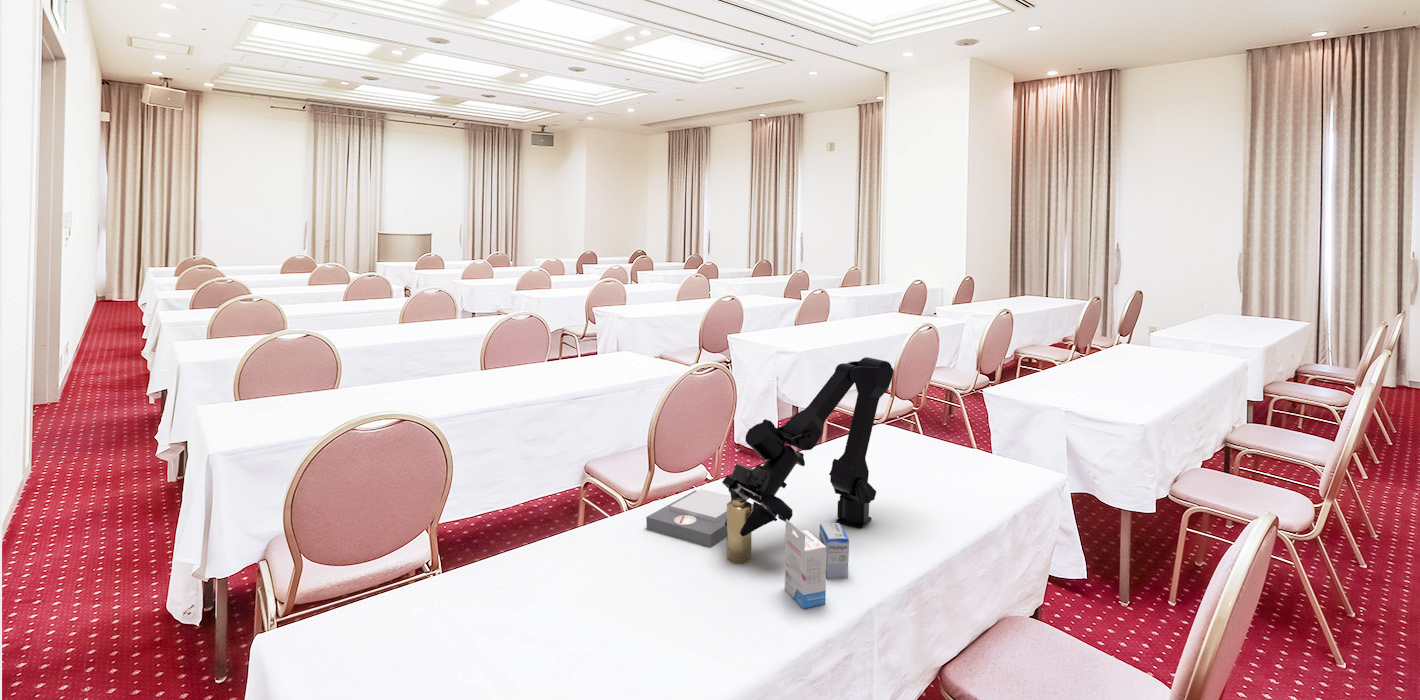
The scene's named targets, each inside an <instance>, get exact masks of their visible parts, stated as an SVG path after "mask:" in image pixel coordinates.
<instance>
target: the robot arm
mask: <svg viewBox="0 0 1420 700" xmlns="http://www.w3.org/2000/svg"><path fill="white" fill-rule="evenodd" d="M893 377H894V368H893V366H892V364H891V363H890V362H889V361H887V360H882V359H878V358H872V357H869V356H867V357H866V356H865V357H863V358H861V359H860V360H858V361H848V362H846V363H845V362H844V363H843V362H842V363H839V364H838V365H837V366H836V367H835V371H834V372H833V374H832V375H831V376H830V377H829V379H828V380H827V381H826V383H825V384H824V385H823V387H822V388H821V389H820V390H819V392H818V393H817V394H816V395H815V397H814V398H813V399H812V401H811V402H810V403H809V404H808V406H806V407H805V409H802V410H800V411H799V412H797V413H794V415H792V416H791V418H790V419H788V420H787V421H786V422H785V423H784V424H783V425H781V426H778V427H776V425H774V422H772V421H771V420H769V419H767V418H765V419H763V421H762V422H759V423H757V424H755V425H753V426H752V427H750V428H749V429H748V430H747V432H746V434H745V443H746V444H747V445H748V446H750V448H751V449H752V450H753V451H755V453H757V455H758V456H759V457H761V459H763V460H765V461H764V463H763V464H762V465H761V464H756V466H755V467H754V468H752V467H748V466H745V465H742V464H739V463H735V465H734V468H733V471H732V473H731V474H729V475H728V474H727V475H726V477H724V479H723V480H722V482H721V483H722V484H723V485H724V486H725V487H726V489H728V492H729V493H730V496H731V501H732V500H733V499H735V498H743V499H745V500H746V501H747V502H748V500H749V499H751V500H752V501H753V503H752V504H753V512H752V513H751V515H750V517H749V518H748V520H747V521H746V523H745V525H744V526H743V528H742V530H741V532H740V535H742V536H745V535H747V534H749V533H751V534H752V533H753V532H755V531H756V530H757V529H759V528H761V527H763V526H765V525H767V524H770V523H771V522H777V520H778V519H779V520H781V521H783V522H785V523H786V519H787V520H788V521H791V519H792V517H793V512H794V511H793V509H792V508H791V507H790V506H789V505H788V504H787V503H786V502H785V501H784V500H782V499H781V498H780V497H777V496H776V494H777V493H778V491H779V490H780V488H782V489H785V488H786V487H787V485H788V484H787V483H786V482H785V481H786V480H787V478H788V477H789V475H790V473H791V472H792V471H793V470H794V468H795V466H796V465H799V466H801V467H805V466H806V461H805V458H804V455H805V454H804V453H802V452H801V451H796V450H795V449H794V448H797V449H799V450H802V451H812V449H813V448H815V447H816V445H817V443H818V442H819V440H820V439H821V438H822V437H821V436H822V435H823V433H824V427H825V426H824V424H825V422H826V421H827V419H828V418H829V417H830V415H831V414H832V413H833V412H834V410H835V409H836V407H838V405H839V404H840V402H841V401H842V400H843V398H844V397H845V396H846V394H848V391H849V390H851V388H852V386H854V384H855V387H856V391H857V396H856V401H855V405H854V410H853V414H852V418H851V422H850V426H849V431H848V436H847V440H846V444H845V448H844V452H843V454H842V455H841V456H840V457H838V459H837V458H834V459H833V460H832V464H831V470H830V472H829V473H828V474H829V476H830V479H829V480H830V484H831V485H832V487H833V491H834V493H835V494H836V495H839V500H837V511H836V512H837V513H836V514H837V519H836V520H835V521H836V522H835V523H840V525H845V526H848V527H849V526H850V527H854V528H859V529H862V528H864V526H866V525H867V524H868V523H869V522H871V520H872V517H871V516H870V515H869V514H870V504H871V503H872V501H875V498H876V495H877V490H876V489H875V488H874V487H873V486H872V485H871V484H870V483H869V474H870V471H869V467H868V465H867V464H868V463H867V461H866V456H867V453H868V449H869V443H870V439H871V436H872V431H873V426H874V422H875V418H876V413H877V411H878V410H877V409H878V405H879V401H880V399H881V397H882V396H884V394H885V393H886V392H887V391H888V390H889V388H890V385H891V383H892V380H893ZM785 444H787V445H785ZM777 518H778V519H777ZM725 526H727V518H726V522H725Z"/></svg>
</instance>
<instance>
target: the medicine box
mask: <svg viewBox="0 0 1420 700" xmlns="http://www.w3.org/2000/svg"><path fill="white" fill-rule="evenodd" d="M818 534H819V537H818V538H819V539H818V540H819V541H820V542H821V543H823V544H824V545H825V546H826V547H827V551H826V579H830V580H831V579H847V578H848V577H849V561H850V560H849V559H850V558H849V557H850V555H849V552H850V538H849V537H848V536H847V533H845V530H844V529H843V528H842V524H841V523H837V522H825V523H824V522H822V523H819V531H818Z"/></svg>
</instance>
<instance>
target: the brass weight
mask: <svg viewBox="0 0 1420 700" xmlns="http://www.w3.org/2000/svg"><path fill="white" fill-rule="evenodd" d="M751 504H752V503H751V502H750V501H748V500H747V501H746V500H745V499H743V498H735V499H733V500H732V501H731V502H729V503H727V537H726V558H727V560H728V562H730V563H733V564H737V565H740V564H741V565H742V564H746V563H749V562H751V561H752V532H751V533H749V534H747V535H745V536H742V535H740V532H741V530H742V528H743V526H744V525H745V523H746V521H747V520H748V518H749V517H750V515H751Z"/></svg>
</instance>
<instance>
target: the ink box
mask: <svg viewBox="0 0 1420 700" xmlns="http://www.w3.org/2000/svg"><path fill="white" fill-rule="evenodd" d="M790 521H791V520H789V521H788V520H787V519H786V522H785V534H784V535H785V538H784V541H785V542H784V544H785V545H784V547H785V548H784V590H785V591H787V593H788V594H789V595H790V596H791V598H793V599H794V601H795V602H796V603H797V604H798V605H799V606H800V607H801V608H802V609H804V610H805V609H808V608H812V607H817V606H823V605H826V593H827V592H826V591H827V590H826V588H827V583H826V582H827V577H826V551H827V547H826V546H825V545H824V544H823V543H821V542H820V541H819V539H818V538H817V537H816V536H815V535H813V533H811V532H810V531H809V530H808V529H804V530H801V529H799V528H798V527H797V526H795V524H793V523H792V522H790Z"/></svg>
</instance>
